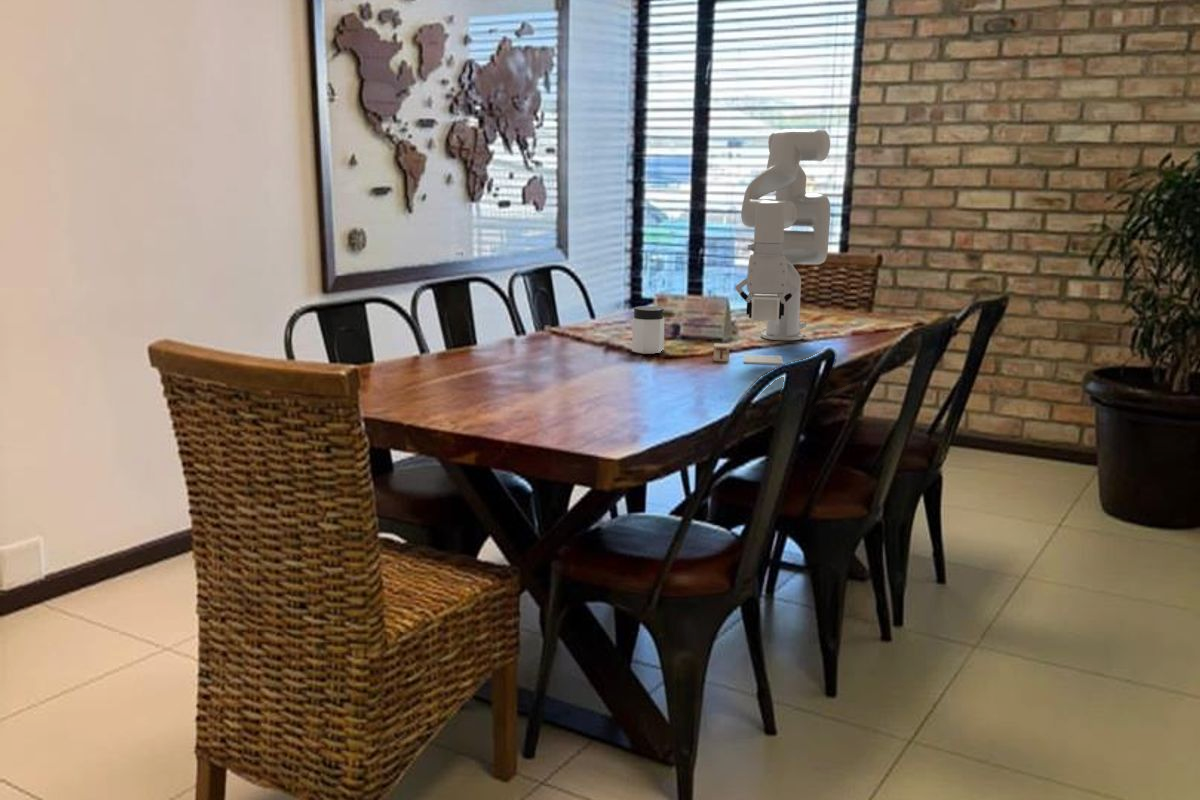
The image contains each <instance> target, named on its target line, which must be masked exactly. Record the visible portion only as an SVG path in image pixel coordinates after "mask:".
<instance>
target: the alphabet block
mask: <svg viewBox="0 0 1200 800" xmlns="http://www.w3.org/2000/svg"><path fill="white" fill-rule="evenodd" d="M779 304H780V297H778V295H777V294H754V296H752V316H751V318H750V320H751V321H750V323H751V324H750V325H754V322H755V321H759V322H761V321H763V322H767V321H776V325H778V323H779Z"/></svg>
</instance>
